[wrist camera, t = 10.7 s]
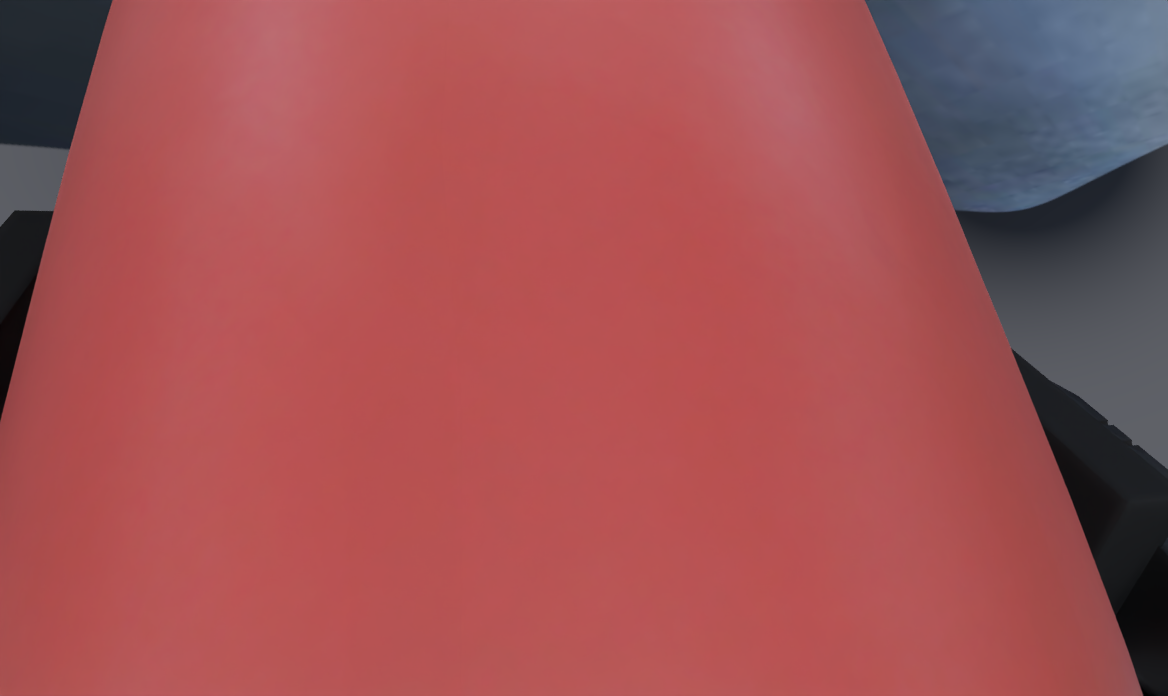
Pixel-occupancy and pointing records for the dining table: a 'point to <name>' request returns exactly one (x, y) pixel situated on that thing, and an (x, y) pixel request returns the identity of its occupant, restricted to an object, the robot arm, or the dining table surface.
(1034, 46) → the dining table surface
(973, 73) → the dining table surface
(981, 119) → the dining table surface
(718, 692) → the flower pot
